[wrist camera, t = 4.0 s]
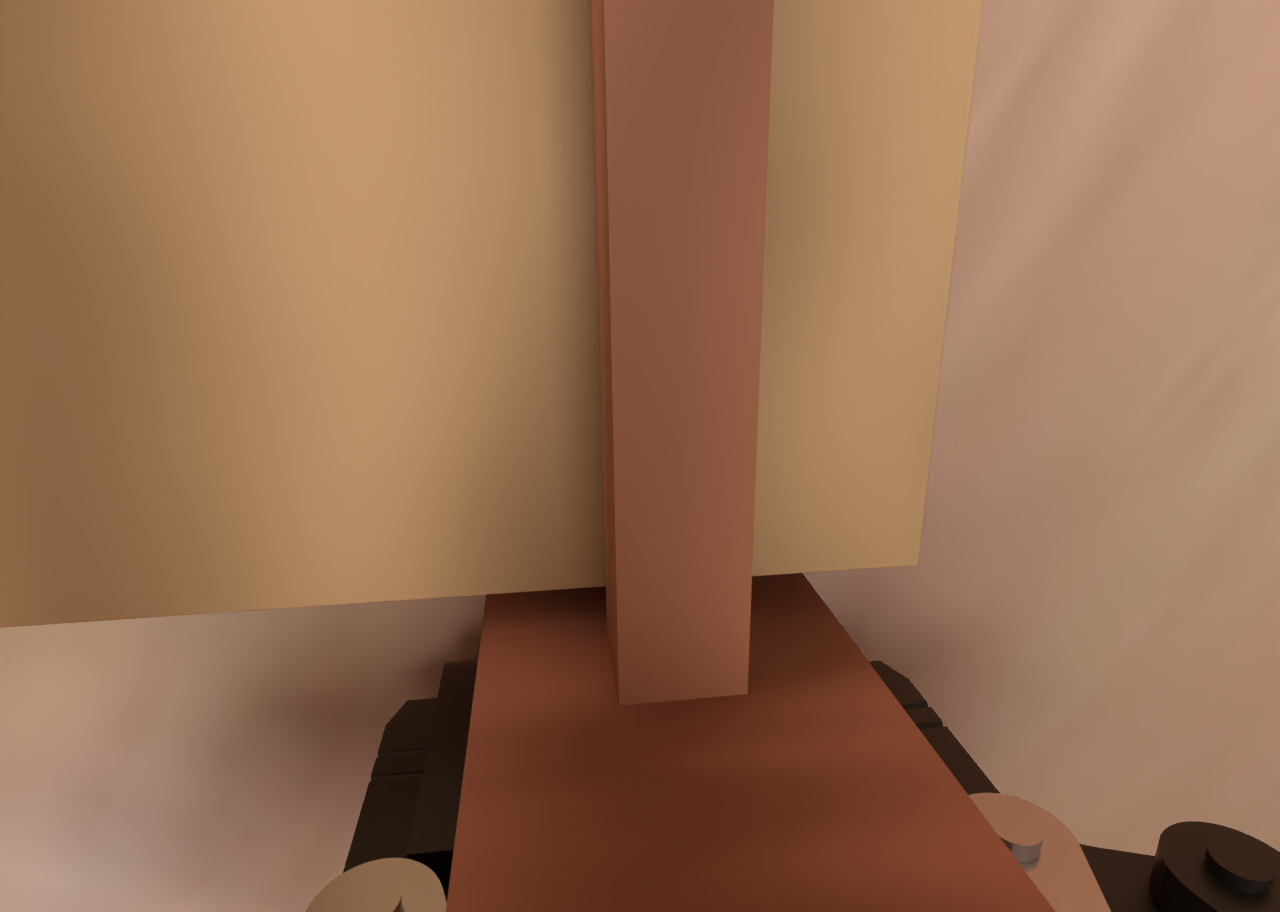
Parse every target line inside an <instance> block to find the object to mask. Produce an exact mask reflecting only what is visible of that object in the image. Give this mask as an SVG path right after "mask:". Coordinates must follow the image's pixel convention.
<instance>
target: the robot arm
mask: <svg viewBox="0 0 1280 912" xmlns="http://www.w3.org/2000/svg"><path fill="white" fill-rule="evenodd" d="M869 663H870V664H871V666H872V667H873V669H874V670H875V671H876V673H877V674H878V675H879V677H880V678H881V679H882V681H883V682H884V683H885V685H886V686H887V687H888V689H889V690H890V691H891V693H892V694H893V695H894V697H895V698H896V699H897V701H898V702H899V703H900V705H901V706H902V707H903V709H904V710H905V711H906V713H907V714H908V715H909V717H910V718H911V719H912V721H913V722H914V723H915V725H916V726H917V727H918V729H919V730H920V731H921V733H922V734H923V735H924V737H925V738H926V739H927V741H928V742H929V743H930V745H931V746H932V747H933V749H934V750H935V751H936V753H937V754H938V755H939V757H940V758H941V759H942V761H943V762H944V763H945V765H946V766H947V767H948V769H949V770H950V771H951V773H952V774H953V775H954V777H955V778H956V779H957V781H958V782H959V783H960V785H961V786H962V787H963V789H964V790H965V791H966V793H967V794H968V795H969V797H970V798H971V799H972V801H973V802H974V803H975V805H976V806H977V807H978V809H979V810H980V811H981V813H982V814H983V815H984V817H985V818H986V819H987V821H988V822H989V823H990V825H991V826H992V827H993V829H994V830H995V831H996V833H997V834H998V835H999V837H1000V838H1001V839H1002V841H1003V842H1004V843H1005V845H1006V846H1007V847H1008V849H1009V850H1010V852H1011V853H1012V854H1013V856H1014V857H1015V858H1016V860H1017V861H1018V862H1019V864H1020V865H1021V866H1022V868H1023V869H1024V870H1025V872H1026V873H1027V874H1028V876H1029V877H1030V878H1031V880H1032V881H1033V882H1034V884H1035V885H1036V886H1037V888H1038V889H1039V890H1040V892H1041V893H1042V894H1043V896H1044V897H1045V898H1046V900H1047V901H1048V902H1049V904H1050V905H1051V906H1052V908H1053V909H1054V910H1055V912H1280V852H1279V851H1277V850H1275V849H1274V848H1272V847H1270V846H1269V845H1267V844H1265V843H1264V842H1262V841H1260V840H1258V839H1256V838H1254V837H1252V836H1249V835H1247V834H1244V833H1242V832H1240V831H1237V830H1234V829H1231V828H1228V827H1225V826H1221V825H1217V824H1212V823H1206V822H1181V823H1177V824H1174V825H1171V826H1169V827H1168V828H1166V829H1165V830H1164V831H1163V833H1162V834H1161V836H1160V840H1159V843H1158V847H1157V851H1156V855H1155V856H1150V855H1143V854H1137V853H1130V852H1123V851H1117V850H1110V849H1103V848H1097V847H1091V846H1086V845H1081V844H1079V843H1078V841H1077V839H1076V838H1075V836H1074V835H1073V834H1072V833H1071V831H1070V830H1069V829H1068V828H1067V827H1066V826H1065V825H1064V824H1063V823H1062V822H1061V821H1060V820H1058V819H1057V818H1056V817H1054V816H1053V815H1052V814H1050V813H1049V812H1047V811H1045V810H1044V809H1042V808H1040V807H1038V806H1036V805H1034V804H1032V803H1030V802H1028V801H1025V800H1023V799H1020V798H1017V797H1013V796H1009V795H1004V794H1000V793H999V792H998V790H997V789H996V788H995V787H994V785H993V784H992V783H991V782H990V780H989V779H988V778H987V777H986V775H985V774H984V773H983V772H982V770H981V769H980V768H979V767H978V765H977V764H976V763H975V762H974V760H973V759H972V758H971V757H970V755H969V754H968V753H967V752H966V750H965V749H964V748H963V747H962V745H961V744H960V743H959V742H958V740H957V739H956V738H955V737H954V735H953V734H952V733H951V732H950V730H949V729H948V728H947V727H943V724H942V720H941V719H940V718H939V717H938V715H937V714H936V713H935V712H934V710H933V709H932V708H931V707H928V706H927V702H926V700H925V699H924V698H923V697H922V695H921V694H920V693H919V692H918V690H917V689H916V688H915V687H914V685H913V684H912V683H911V682H910V680H909V679H907V678H906V677H904V676H903V675H901V674H900V673H898V672H897V671H895V670H893V669H892V668H890V667H889V666H887V665H886V664H884V663H883V662H881V661H872V662H869ZM477 665H478V659H476V660H463V661H451V662H445V664H444V668H443V673H442V678H441V683H440V688H439V693H438V698H431V699H419V700H408V701H407V702H406V703H405V704H404V705H403V706H402V708H401V709H400V710H399V711H398V712H397V713H396V714H395V715H394V717H393V718H392V719H391V720H390V721H389V722H388V723H387V724H386V726H385V730H384V733H383V737H382V740H381V744H380V747H379V750H378V758H376V761H375V764H374V768H373V771H372V775H371V782H369V785H368V788H367V792H366V795H365V799H364V802H363V806H362V809H361V813H360V816H359V819H358V823H357V826H356V830H355V833H354V837H353V840H352V844H351V847H350V850H349V854H348V857H347V861H346V864H345V868H344V871H343V874H341V875H340V876H338V877H337V878H335V879H334V880H333V881H331V882H330V883H329V884H328V885H327V886H326V887H324V888H323V889H322V890H321V891H320V893H319V894H318V895H317V896H316V897H315V898H314V900H313V901H312V903H311V904H310V906H309V907H308V908H307V911H306V912H446V906H447V898H448V890H449V882H450V875H451V867H452V859H453V851H454V844H455V836H456V828H457V820H458V812H459V805H460V797H461V789H462V781H463V774H464V766H465V758H466V750H467V743H468V735H469V727H470V719H471V711H472V704H473V696H474V688H475V680H476V673H477Z"/></svg>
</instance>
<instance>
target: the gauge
mask: <svg viewBox="0 0 1280 912" xmlns="http://www.w3.org/2000/svg"><path fill="white" fill-rule="evenodd" d="M773 10H774V0H591V34H592V72H593V110H594V148H595V186H596V225H597V263H598V301H599V339H600V377H601V416H602V454H603V492H604V530H605V568H606V586H602V587H587V588H572V589H558V590H543V591H528V592H514V593H499V594H487V595H486V603H485V610H484V618H483V626H482V634H481V641H480V649H479V657H478V665H477V673H476V680H475V688H474V696H473V704H472V711H471V719H470V727H469V735H468V743H467V750H466V758H465V766H464V774H463V781H462V789H461V797H460V805H459V812H458V820H457V828H456V836H455V844H454V851H453V859H452V867H451V875H450V882H449V890H448V898H447V906H446V912H1055V910H1054V909H1053V908H1052V906H1051V905H1050V904H1049V902H1048V901H1047V900H1046V898H1045V897H1044V896H1043V894H1042V893H1041V892H1040V890H1039V889H1038V888H1037V886H1036V885H1035V884H1034V882H1033V881H1032V880H1031V878H1030V877H1029V876H1028V874H1027V873H1026V872H1025V870H1024V869H1023V868H1022V866H1021V865H1020V864H1019V862H1018V861H1017V860H1016V858H1015V857H1014V856H1013V854H1012V853H1011V852H1010V850H1009V849H1008V847H1007V846H1006V845H1005V843H1004V842H1003V841H1002V839H1001V838H1000V837H999V835H998V834H997V833H996V831H995V830H994V829H993V827H992V826H991V825H990V823H989V822H988V821H987V819H986V818H985V817H984V815H983V814H982V813H981V811H980V810H979V809H978V807H977V806H976V805H975V803H974V802H973V801H972V799H971V798H970V797H969V795H968V794H967V793H966V791H965V790H964V789H963V787H962V786H961V785H960V783H959V782H958V781H957V779H956V778H955V777H954V775H953V774H952V773H951V771H950V770H949V769H948V767H947V766H946V765H945V763H944V762H943V761H942V759H941V758H940V757H939V755H938V754H937V753H936V751H935V750H934V749H933V747H932V746H931V745H930V743H929V742H928V741H927V739H926V738H925V737H924V735H923V734H922V733H921V731H920V730H919V729H918V727H917V726H916V725H915V723H914V722H913V721H912V719H911V718H910V717H909V715H908V714H907V713H906V711H905V710H904V709H903V707H902V706H901V705H900V703H899V702H898V701H897V699H896V698H895V697H894V695H893V694H892V693H891V691H890V690H889V689H888V687H887V686H886V685H885V683H884V682H883V681H882V679H881V678H880V677H879V675H878V674H877V673H876V671H875V670H874V669H873V667H872V666H871V664H870V663H869V662H868V660H867V659H866V658H865V656H864V655H863V654H862V652H861V651H860V650H859V648H858V647H857V646H856V644H855V643H854V642H853V640H852V639H851V638H850V636H849V635H848V634H847V632H846V631H845V630H844V628H843V627H842V626H841V624H840V623H839V622H838V620H837V619H836V618H835V616H834V615H833V614H832V612H831V611H830V610H829V608H828V607H827V606H826V604H825V603H824V602H823V600H822V599H821V598H820V596H819V595H818V594H817V592H816V591H815V590H814V588H813V587H812V586H811V584H810V583H809V582H808V580H807V579H806V578H805V576H804V575H803V574H802V573H792V574H777V575H763V576H752V562H753V536H754V510H755V483H756V457H757V431H758V404H759V378H760V352H761V326H762V299H763V273H764V247H765V220H766V194H767V168H768V141H769V115H770V89H771V63H772V36H773Z"/></svg>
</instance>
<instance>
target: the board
mask: <svg viewBox="0 0 1280 912" xmlns="http://www.w3.org/2000/svg"><path fill="white" fill-rule="evenodd" d="M982 5H983V0H774V10H773V36H772V63H771V89H770V115H769V141H768V168H767V194H766V220H765V247H764V273H763V299H762V326H761V352H760V378H759V404H758V431H757V457H756V483H755V510H754V536H753V562H752V576H763V575H777V574H792V573H807V572H821V571H836V570H851V569H865V568H880V567H894V566H909V565H918V562H919V554H920V545H921V536H922V528H923V519H924V510H925V501H926V493H927V484H928V475H929V467H930V458H931V449H932V440H933V432H934V423H935V414H936V406H937V397H938V388H939V379H940V371H941V362H942V353H943V344H944V336H945V327H946V318H947V310H948V301H949V292H950V283H951V275H952V266H953V257H954V249H955V240H956V231H957V222H958V214H959V205H960V196H961V188H962V179H963V170H964V161H965V153H966V144H967V135H968V127H969V118H970V109H971V100H972V92H973V83H974V74H975V66H976V57H977V48H978V39H979V31H980V22H981V13H982ZM602 586H606V568H605V530H604V492H603V454H602V416H601V377H600V339H599V301H598V263H597V225H596V186H595V148H594V110H593V72H592V34H591V0H0V628H1V627H16V626H30V625H45V624H59V623H74V622H89V621H103V620H118V619H133V618H147V617H162V616H177V615H191V614H206V613H221V612H235V611H250V610H265V609H279V608H294V607H309V606H323V605H338V604H352V603H367V602H382V601H396V600H411V599H426V598H440V597H455V596H470V595H484V594H499V593H514V592H528V591H543V590H558V589H572V588H587V587H602Z"/></svg>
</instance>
